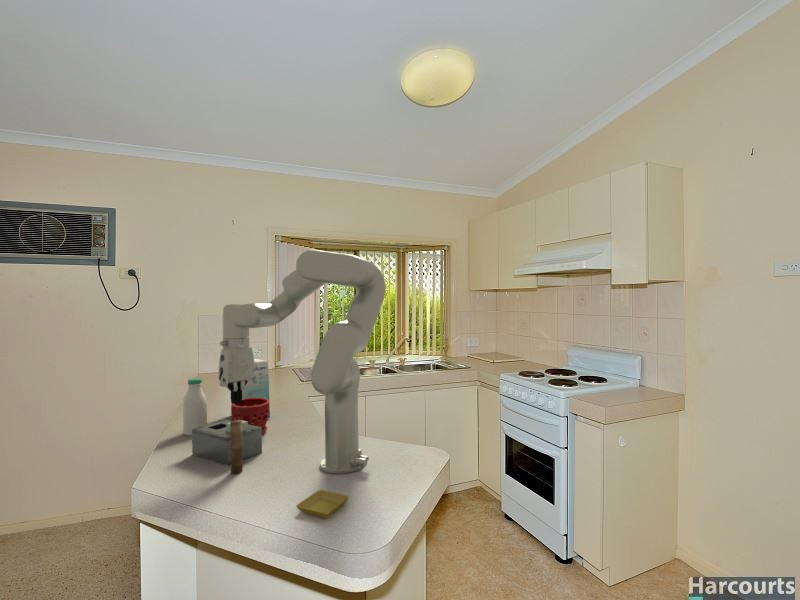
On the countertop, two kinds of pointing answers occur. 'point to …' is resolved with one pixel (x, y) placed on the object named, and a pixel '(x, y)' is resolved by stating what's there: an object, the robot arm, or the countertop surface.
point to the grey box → (224, 442)
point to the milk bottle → (194, 407)
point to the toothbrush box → (258, 383)
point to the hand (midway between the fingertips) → (236, 403)
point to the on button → (244, 426)
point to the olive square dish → (322, 503)
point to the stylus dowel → (236, 446)
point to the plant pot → (252, 412)
